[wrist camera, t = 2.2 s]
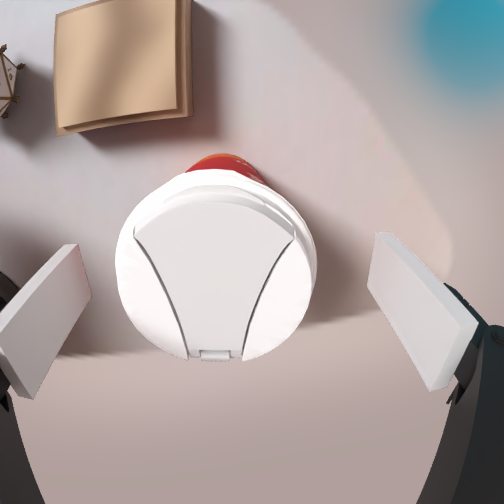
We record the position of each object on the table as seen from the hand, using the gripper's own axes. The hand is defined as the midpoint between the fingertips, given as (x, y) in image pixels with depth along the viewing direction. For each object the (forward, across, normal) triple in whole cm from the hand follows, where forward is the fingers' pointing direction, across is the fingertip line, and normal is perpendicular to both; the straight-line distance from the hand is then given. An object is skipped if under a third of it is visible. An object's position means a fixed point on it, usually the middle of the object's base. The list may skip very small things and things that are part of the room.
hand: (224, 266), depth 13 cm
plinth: (+13, -8, +11) cm, 19 cm away
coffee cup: (+13, -1, 0) cm, 13 cm away
